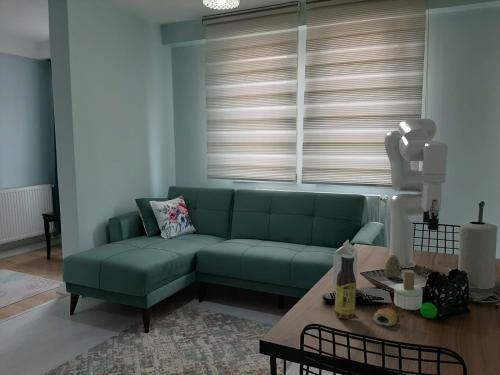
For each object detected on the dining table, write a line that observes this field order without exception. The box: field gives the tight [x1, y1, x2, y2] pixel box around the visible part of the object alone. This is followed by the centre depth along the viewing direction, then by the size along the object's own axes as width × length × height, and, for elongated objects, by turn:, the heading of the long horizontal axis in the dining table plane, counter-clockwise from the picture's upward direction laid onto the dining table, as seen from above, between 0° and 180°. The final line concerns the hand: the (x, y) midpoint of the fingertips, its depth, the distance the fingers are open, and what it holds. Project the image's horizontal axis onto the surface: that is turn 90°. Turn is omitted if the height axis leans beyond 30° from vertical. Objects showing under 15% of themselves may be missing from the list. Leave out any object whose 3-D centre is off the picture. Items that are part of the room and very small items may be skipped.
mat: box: [359, 287, 393, 304], centre depth 146 cm, size 12×10×1 cm
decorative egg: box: [384, 255, 401, 280], centre depth 162 cm, size 6×6×10 cm
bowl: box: [393, 291, 423, 311], centre depth 138 cm, size 8×8×5 cm
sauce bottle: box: [334, 255, 357, 320], centre depth 130 cm, size 6×6×20 cm
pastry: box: [372, 307, 398, 327], centre depth 128 cm, size 9×7×4 cm
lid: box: [393, 269, 424, 297], centre depth 137 cm, size 9×9×7 cm
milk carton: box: [332, 239, 358, 293], centre depth 150 cm, size 7×7×19 cm
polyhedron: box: [419, 302, 438, 319], centre depth 129 cm, size 5×5×5 cm
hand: (430, 226), depth 144 cm, fingers open, 9 cm apart
